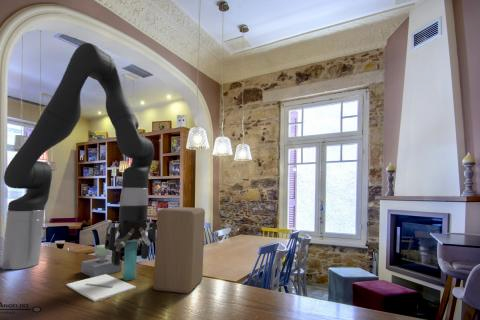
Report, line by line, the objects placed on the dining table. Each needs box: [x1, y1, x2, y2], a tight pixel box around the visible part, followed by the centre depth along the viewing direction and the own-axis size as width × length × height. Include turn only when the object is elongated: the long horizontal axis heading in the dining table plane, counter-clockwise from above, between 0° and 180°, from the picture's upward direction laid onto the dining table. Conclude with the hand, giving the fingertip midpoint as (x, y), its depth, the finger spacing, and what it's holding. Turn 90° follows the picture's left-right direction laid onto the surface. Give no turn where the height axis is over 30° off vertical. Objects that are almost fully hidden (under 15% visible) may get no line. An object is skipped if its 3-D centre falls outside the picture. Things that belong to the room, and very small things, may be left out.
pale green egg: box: [94, 244, 112, 263], centre depth 77 cm, size 4×4×6 cm
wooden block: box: [152, 206, 206, 294], centre depth 68 cm, size 10×10×20 cm
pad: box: [66, 274, 137, 302], centre depth 65 cm, size 15×10×1 cm, turn 55°
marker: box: [122, 239, 139, 281], centre depth 72 cm, size 3×3×10 cm
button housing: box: [80, 255, 123, 278], centre depth 77 cm, size 8×8×3 cm
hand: (130, 261), depth 72 cm, fingers open, 8 cm apart
